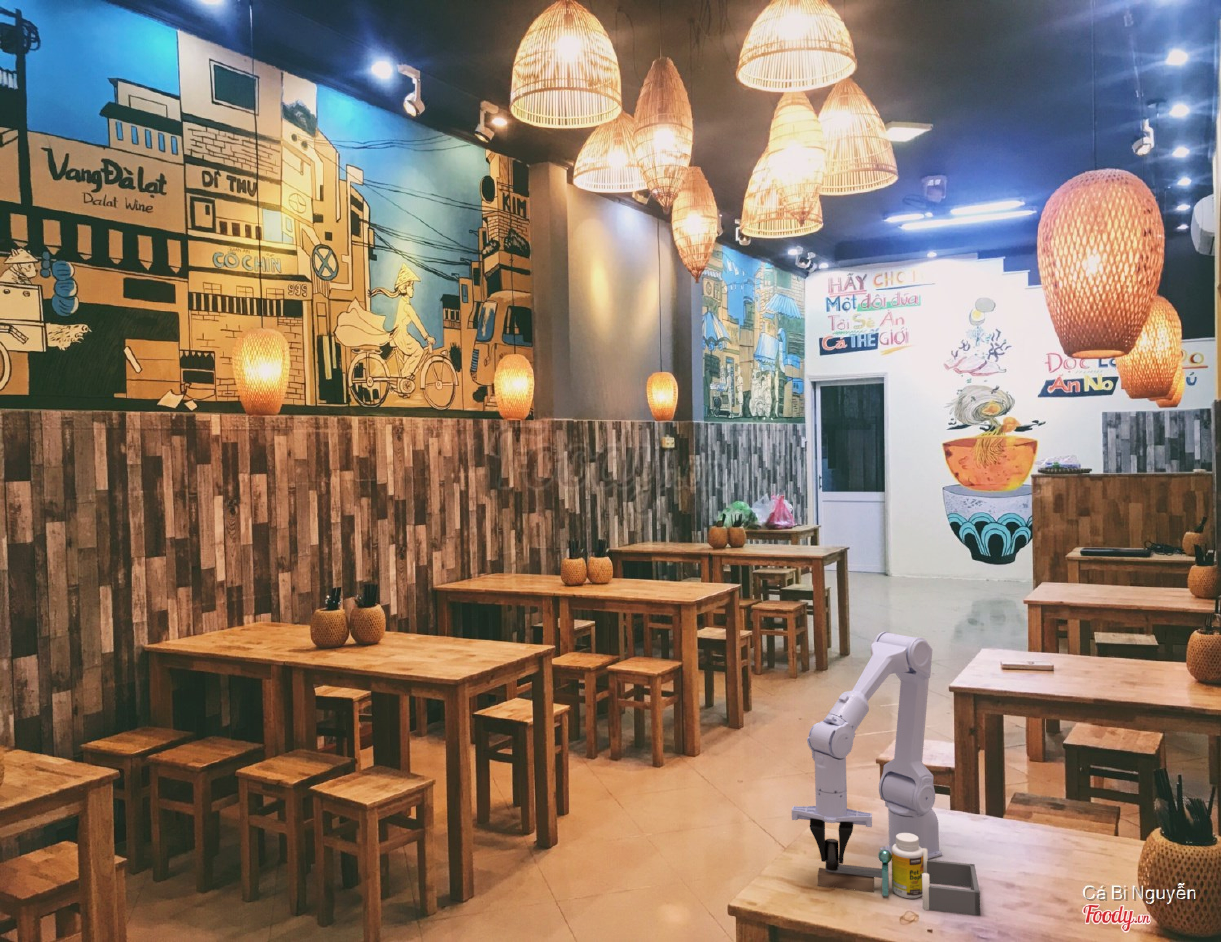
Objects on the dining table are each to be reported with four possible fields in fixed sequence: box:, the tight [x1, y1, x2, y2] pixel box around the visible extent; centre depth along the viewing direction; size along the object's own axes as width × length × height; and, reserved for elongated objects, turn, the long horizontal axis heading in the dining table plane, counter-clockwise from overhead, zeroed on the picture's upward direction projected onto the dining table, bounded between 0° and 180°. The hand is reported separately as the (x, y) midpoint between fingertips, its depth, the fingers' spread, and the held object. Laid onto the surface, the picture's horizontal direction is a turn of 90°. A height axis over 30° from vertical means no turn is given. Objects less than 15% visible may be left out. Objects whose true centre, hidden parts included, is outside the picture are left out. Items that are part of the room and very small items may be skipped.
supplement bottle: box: [891, 833, 924, 899], centre depth 166 cm, size 6×6×10 cm
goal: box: [922, 848, 981, 917], centre depth 164 cm, size 9×12×6 cm
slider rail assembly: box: [825, 838, 892, 897], centre depth 168 cm, size 12×7×8 cm, turn 72°
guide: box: [817, 867, 875, 893], centre depth 169 cm, size 10×3×2 cm, turn 72°
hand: (832, 860), depth 170 cm, fingers open, 2 cm apart
